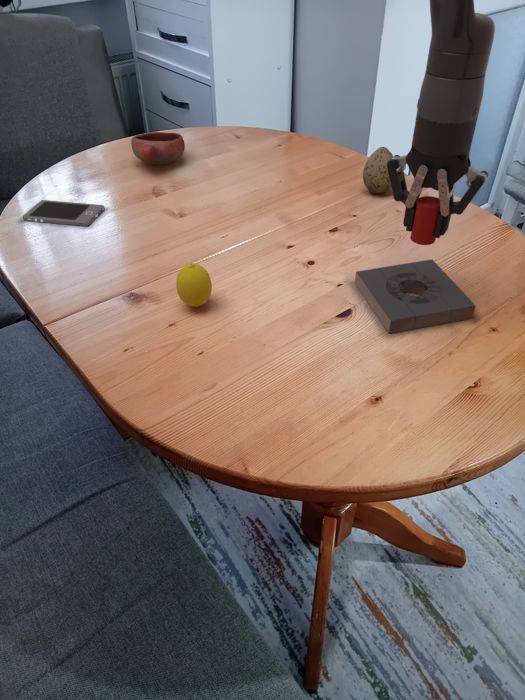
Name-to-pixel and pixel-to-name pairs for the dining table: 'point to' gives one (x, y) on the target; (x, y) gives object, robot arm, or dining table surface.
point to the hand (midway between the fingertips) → (424, 231)
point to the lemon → (193, 285)
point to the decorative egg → (377, 171)
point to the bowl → (158, 147)
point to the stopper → (425, 220)
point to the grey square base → (413, 311)
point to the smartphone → (64, 212)
